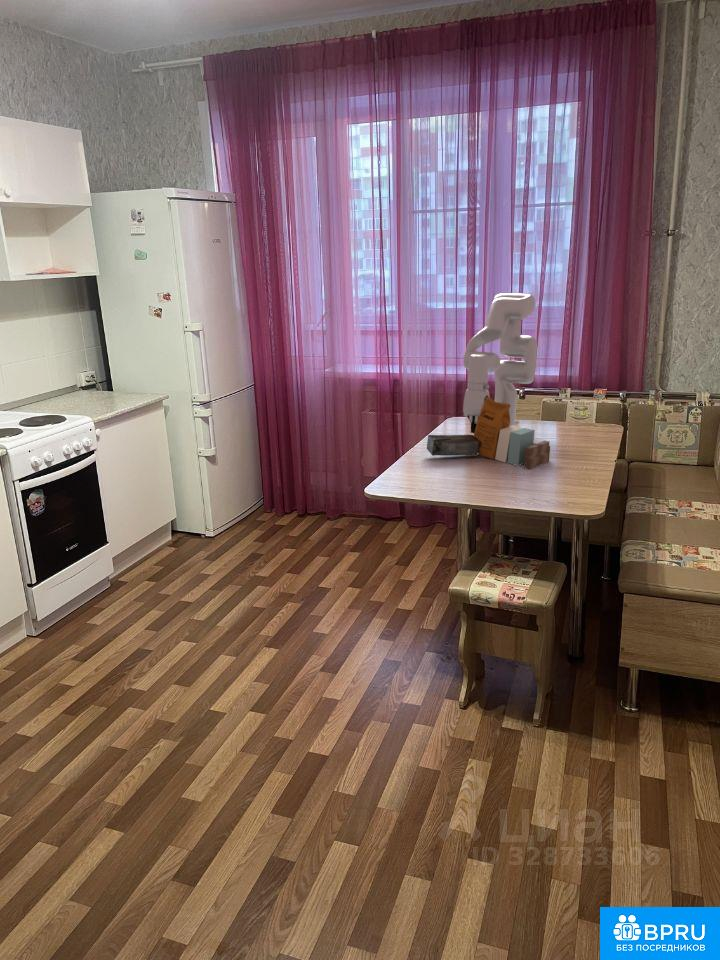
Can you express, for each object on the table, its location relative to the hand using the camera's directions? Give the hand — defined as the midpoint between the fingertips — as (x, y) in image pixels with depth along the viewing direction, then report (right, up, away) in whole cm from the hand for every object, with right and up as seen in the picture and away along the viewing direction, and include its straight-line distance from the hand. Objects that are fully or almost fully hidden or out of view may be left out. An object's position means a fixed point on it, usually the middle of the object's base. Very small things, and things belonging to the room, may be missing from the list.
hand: (474, 432), depth 292 cm
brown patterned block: (+15, -11, -9) cm, 20 cm away
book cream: (+11, -10, -7) cm, 17 cm away
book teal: (+16, -12, -10) cm, 22 cm away
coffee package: (+5, -8, -2) cm, 10 cm away
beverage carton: (-10, -8, -5) cm, 14 cm away
